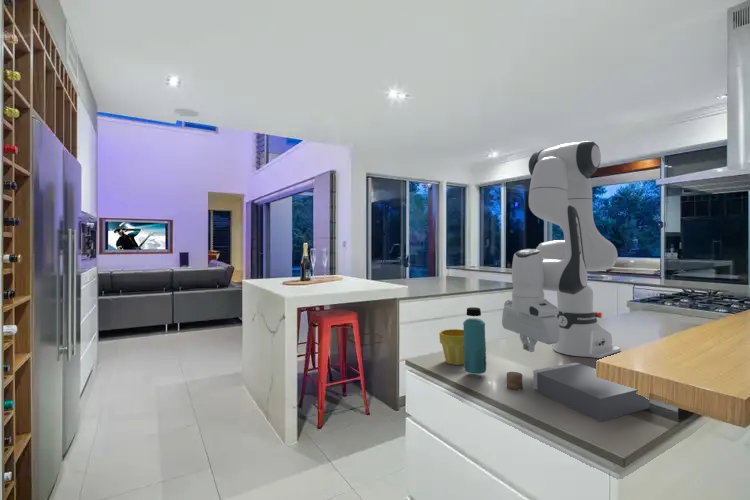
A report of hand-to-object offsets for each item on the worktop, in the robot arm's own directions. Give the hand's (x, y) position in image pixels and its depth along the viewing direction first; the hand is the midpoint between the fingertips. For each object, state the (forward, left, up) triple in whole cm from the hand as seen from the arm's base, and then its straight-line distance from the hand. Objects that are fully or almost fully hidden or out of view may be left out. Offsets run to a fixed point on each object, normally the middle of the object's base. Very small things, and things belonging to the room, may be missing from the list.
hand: (528, 350), depth 115 cm
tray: (+1, +19, -6) cm, 21 cm away
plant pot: (+14, -18, -7) cm, 24 cm away
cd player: (+1, +21, -7) cm, 22 cm away
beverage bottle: (+16, -5, -7) cm, 18 cm away
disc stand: (+12, +7, -7) cm, 15 cm away
